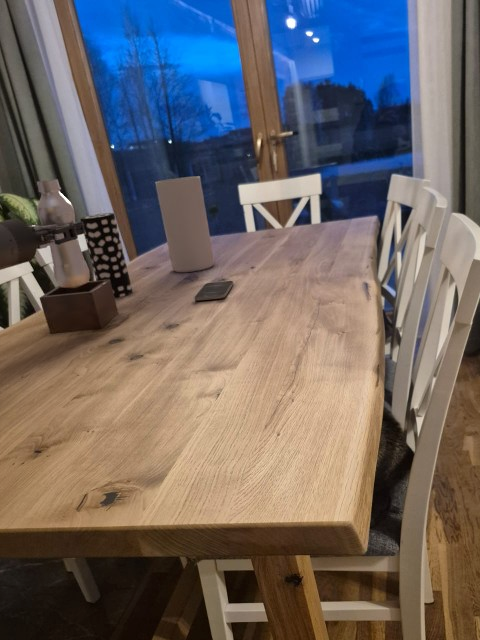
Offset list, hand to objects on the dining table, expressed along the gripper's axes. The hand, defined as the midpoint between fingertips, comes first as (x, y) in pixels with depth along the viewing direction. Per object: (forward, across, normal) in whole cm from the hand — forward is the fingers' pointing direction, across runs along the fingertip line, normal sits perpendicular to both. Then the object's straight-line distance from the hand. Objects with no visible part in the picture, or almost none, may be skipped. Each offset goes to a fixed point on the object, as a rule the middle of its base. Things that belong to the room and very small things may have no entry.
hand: (69, 228), depth 113 cm
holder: (+6, +8, +22) cm, 24 cm away
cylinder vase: (+57, +12, +22) cm, 62 cm away
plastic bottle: (-2, 0, +11) cm, 11 cm away
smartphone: (+31, -11, +21) cm, 39 cm away
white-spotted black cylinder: (+29, +18, +22) cm, 41 cm away
